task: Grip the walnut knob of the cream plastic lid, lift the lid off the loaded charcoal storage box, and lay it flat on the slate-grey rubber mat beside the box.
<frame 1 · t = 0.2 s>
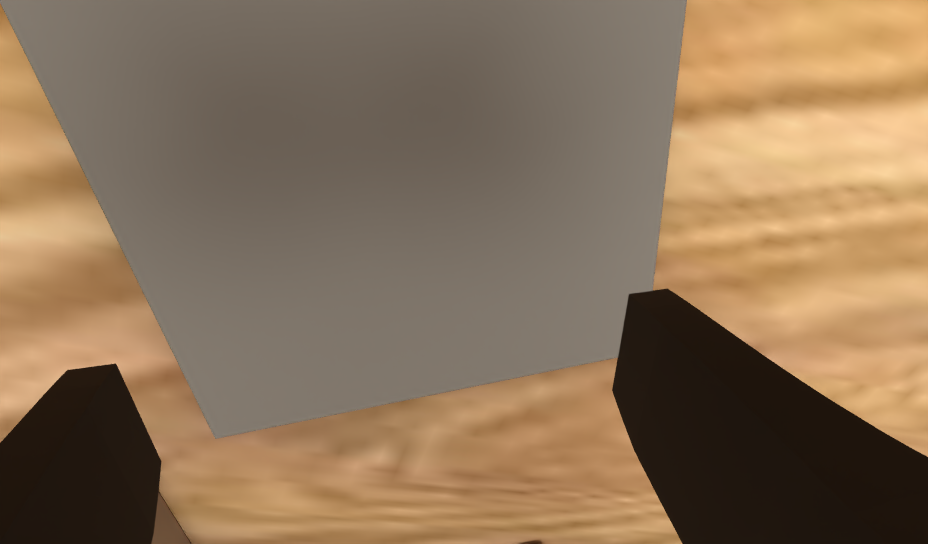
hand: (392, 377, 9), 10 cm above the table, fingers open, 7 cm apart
slate mat: (406, 200, 19), on the table
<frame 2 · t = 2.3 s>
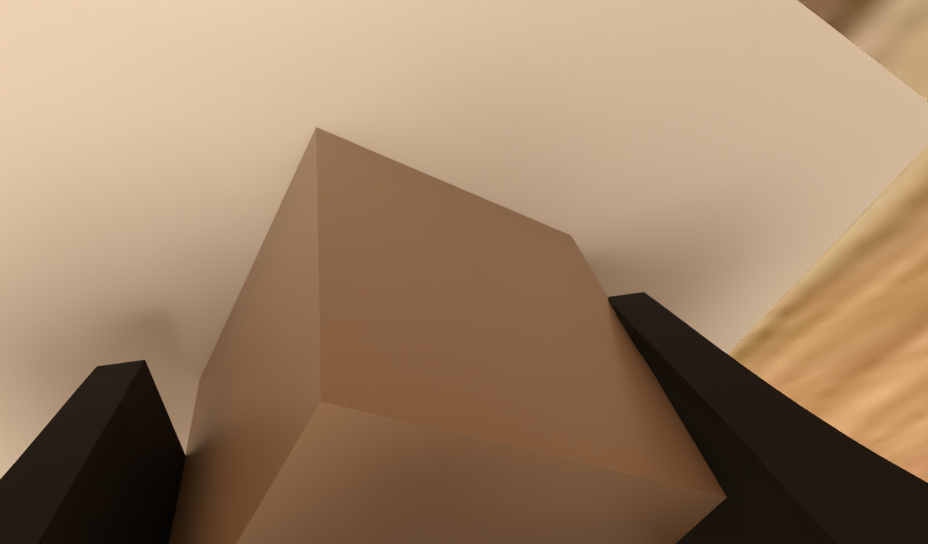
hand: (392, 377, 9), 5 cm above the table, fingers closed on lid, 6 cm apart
lid: (378, 280, 11), point 3 cm above the table, touching gripper, storage box
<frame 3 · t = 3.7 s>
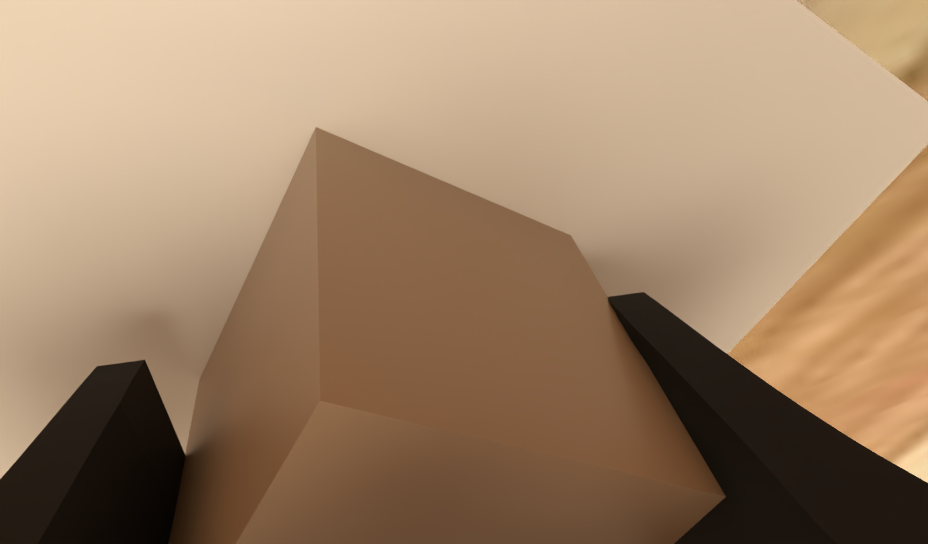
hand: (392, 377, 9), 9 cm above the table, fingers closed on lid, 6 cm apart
lid: (378, 280, 11), point 6 cm above the table, touching gripper
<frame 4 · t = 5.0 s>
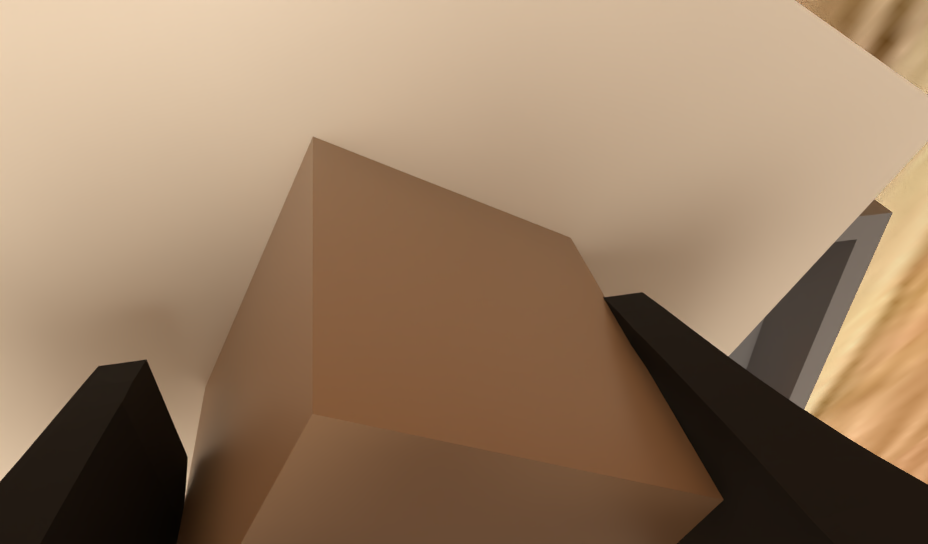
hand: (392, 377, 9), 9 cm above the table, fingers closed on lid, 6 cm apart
storage box: (591, 354, 24), on the table
lid: (380, 285, 11), point 7 cm above the table, touching gripper
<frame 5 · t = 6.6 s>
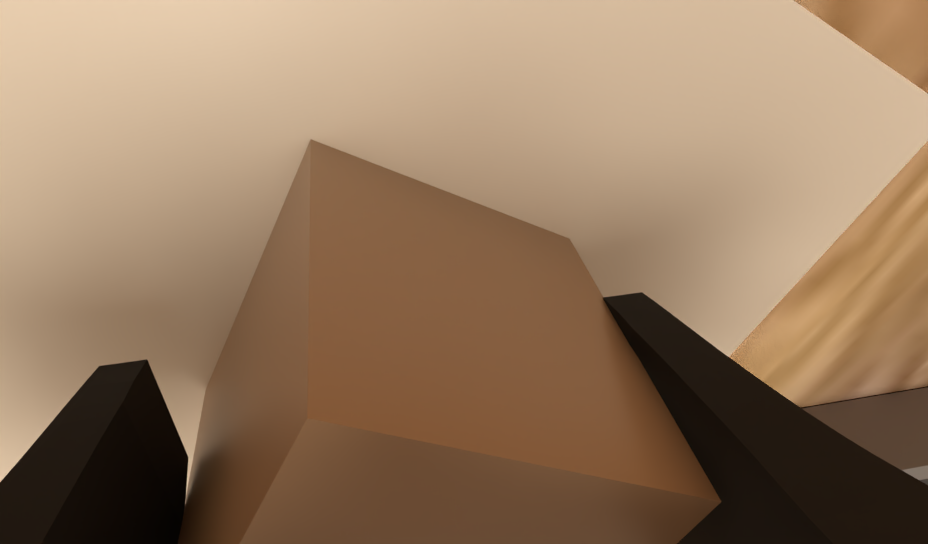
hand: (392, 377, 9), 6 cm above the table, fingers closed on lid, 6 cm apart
storage box: (745, 523, 27), on the table
lid: (380, 287, 11), point 4 cm above the table, touching gripper
when the fingers open (4 cm above the table, at t = 7.8 s): lid drops 1 cm, resting on slate mat.
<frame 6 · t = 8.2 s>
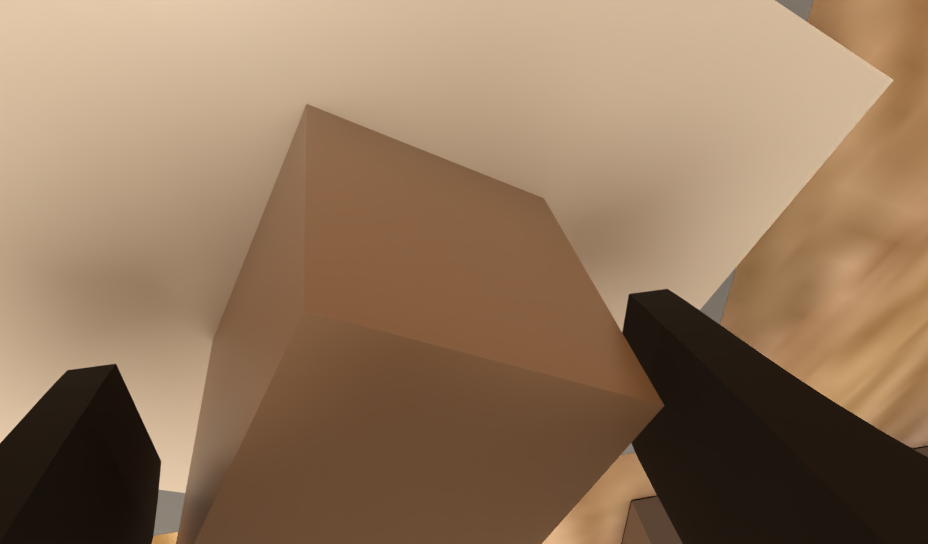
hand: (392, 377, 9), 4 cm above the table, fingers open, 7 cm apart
lid: (371, 246, 13), resting on slate mat
slate mat: (371, 229, 13), on the table
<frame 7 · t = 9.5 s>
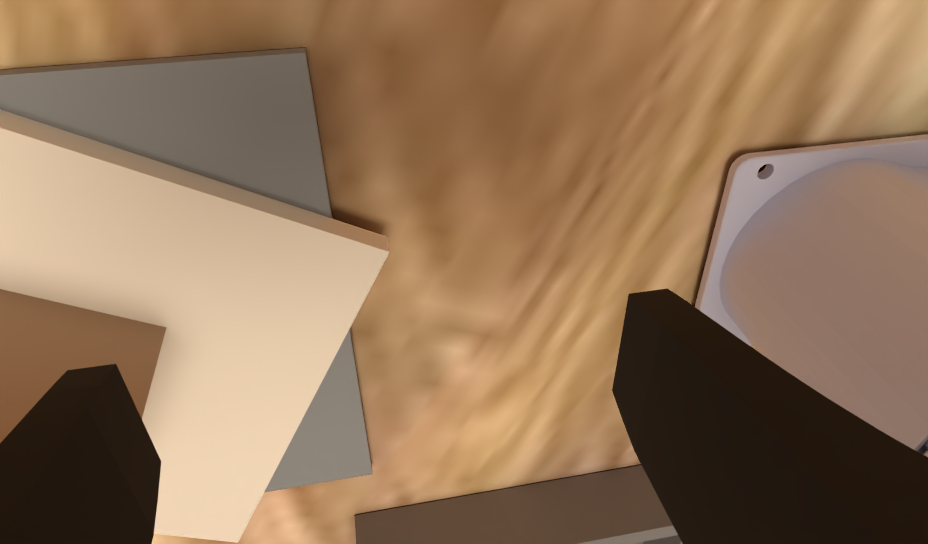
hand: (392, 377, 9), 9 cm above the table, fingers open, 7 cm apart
lid: (70, 353, 19), resting on slate mat
slate mat: (73, 340, 19), on the table
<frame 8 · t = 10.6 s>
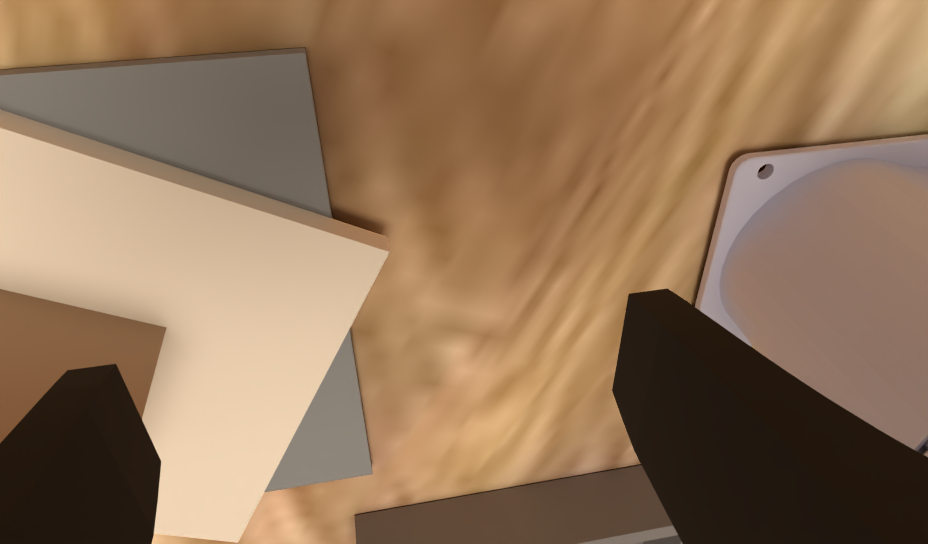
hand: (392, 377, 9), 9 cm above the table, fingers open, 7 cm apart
lid: (70, 353, 19), resting on slate mat
slate mat: (73, 340, 19), on the table
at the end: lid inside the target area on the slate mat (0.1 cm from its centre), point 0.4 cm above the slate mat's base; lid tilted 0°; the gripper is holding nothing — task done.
